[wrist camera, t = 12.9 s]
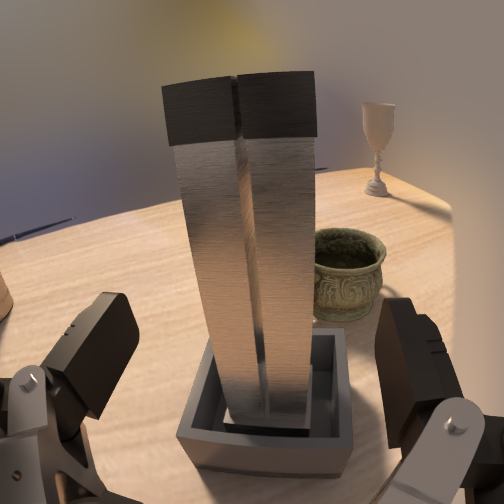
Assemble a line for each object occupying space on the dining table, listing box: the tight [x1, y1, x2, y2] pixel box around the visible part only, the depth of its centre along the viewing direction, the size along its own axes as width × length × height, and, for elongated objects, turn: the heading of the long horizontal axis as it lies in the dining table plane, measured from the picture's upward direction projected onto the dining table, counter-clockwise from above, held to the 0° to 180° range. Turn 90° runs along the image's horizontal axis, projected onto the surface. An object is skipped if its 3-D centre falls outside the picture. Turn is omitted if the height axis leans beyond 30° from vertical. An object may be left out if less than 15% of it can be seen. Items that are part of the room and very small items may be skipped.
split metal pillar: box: [162, 71, 317, 438], centre depth 15 cm, size 5×5×20 cm
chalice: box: [361, 102, 396, 196], centre depth 55 cm, size 7×7×18 cm
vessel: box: [313, 228, 386, 322], centre depth 31 cm, size 12×9×6 cm
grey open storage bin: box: [176, 328, 353, 478], centre depth 19 cm, size 9×9×5 cm
